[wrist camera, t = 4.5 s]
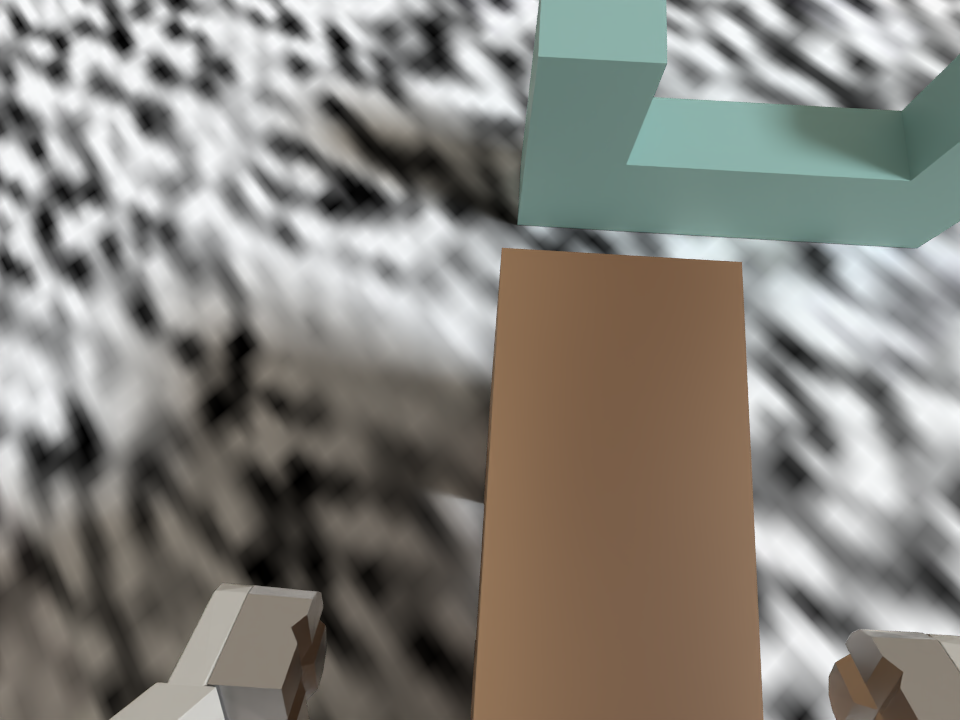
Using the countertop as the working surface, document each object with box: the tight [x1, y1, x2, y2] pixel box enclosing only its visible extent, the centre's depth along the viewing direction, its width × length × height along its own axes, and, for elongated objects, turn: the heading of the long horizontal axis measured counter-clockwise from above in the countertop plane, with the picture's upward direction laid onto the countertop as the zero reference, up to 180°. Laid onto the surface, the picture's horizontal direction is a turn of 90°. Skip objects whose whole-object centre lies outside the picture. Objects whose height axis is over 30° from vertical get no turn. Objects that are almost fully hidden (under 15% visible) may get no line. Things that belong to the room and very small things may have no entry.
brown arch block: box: [470, 248, 763, 720], centre depth 11 cm, size 3×9×10 cm, turn 176°
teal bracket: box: [517, 0, 960, 248], centre depth 16 cm, size 12×2×7 cm, turn 86°
